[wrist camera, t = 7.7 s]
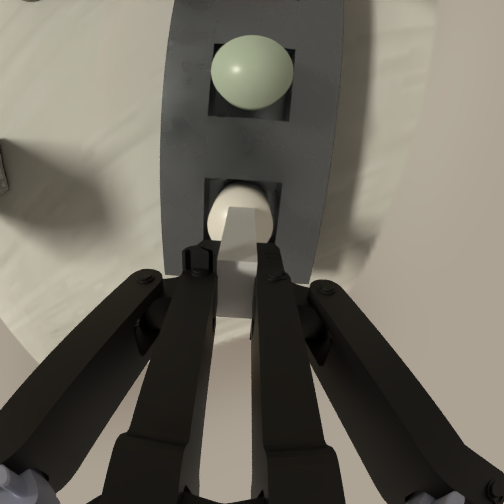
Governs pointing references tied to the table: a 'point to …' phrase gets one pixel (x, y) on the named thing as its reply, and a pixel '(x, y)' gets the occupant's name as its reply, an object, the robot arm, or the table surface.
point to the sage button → (252, 72)
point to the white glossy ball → (241, 197)
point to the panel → (249, 124)
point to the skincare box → (2, 179)
